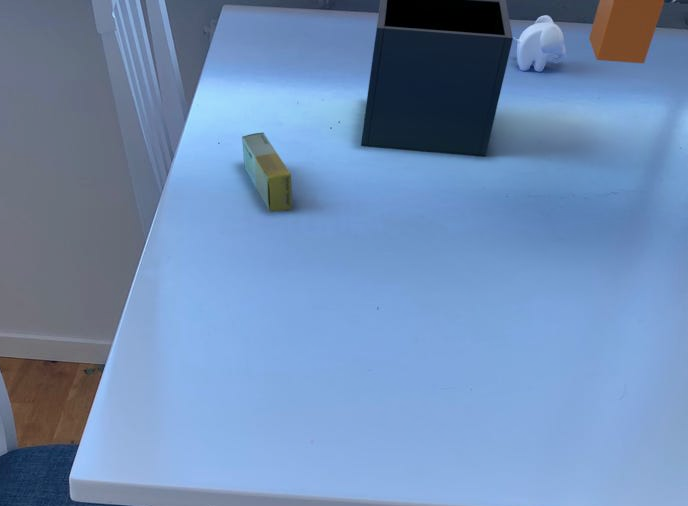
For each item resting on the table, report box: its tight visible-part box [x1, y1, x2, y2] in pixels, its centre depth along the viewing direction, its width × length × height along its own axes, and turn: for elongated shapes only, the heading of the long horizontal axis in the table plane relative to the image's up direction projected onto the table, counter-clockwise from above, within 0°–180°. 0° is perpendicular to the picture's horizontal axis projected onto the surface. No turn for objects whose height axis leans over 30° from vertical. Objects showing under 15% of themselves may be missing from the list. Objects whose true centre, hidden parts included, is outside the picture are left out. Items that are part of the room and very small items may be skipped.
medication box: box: [241, 132, 293, 212], centre depth 102 cm, size 12×3×4 cm, turn 12°
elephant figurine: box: [513, 15, 568, 73], centre depth 131 cm, size 7×8×6 cm
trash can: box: [360, 0, 514, 158], centre depth 111 cm, size 15×15×13 cm
